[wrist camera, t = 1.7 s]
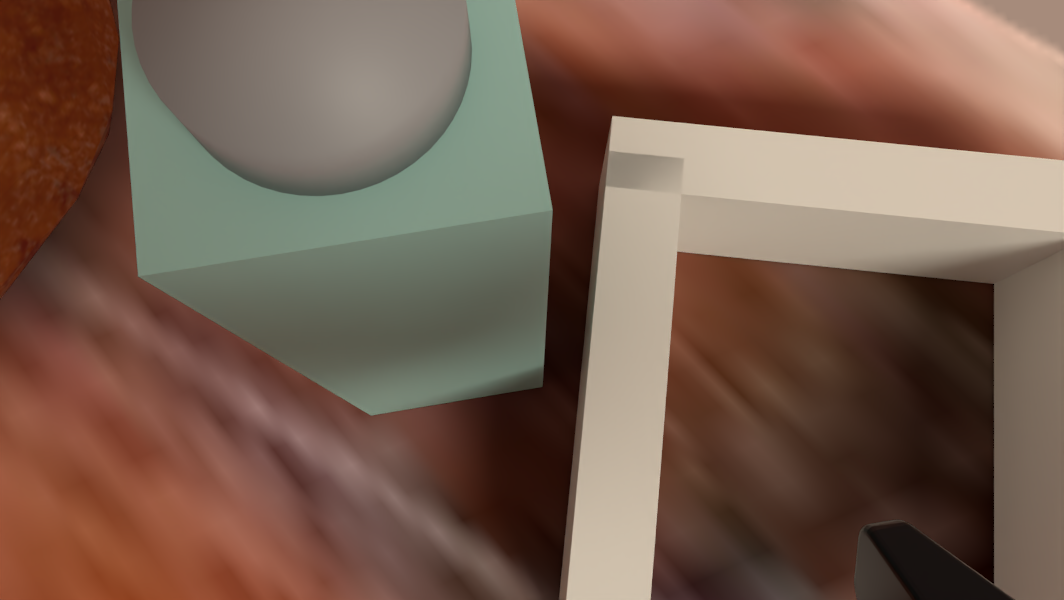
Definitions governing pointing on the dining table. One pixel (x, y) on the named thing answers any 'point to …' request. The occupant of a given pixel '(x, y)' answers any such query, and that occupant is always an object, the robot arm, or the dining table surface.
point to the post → (346, 187)
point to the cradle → (821, 240)
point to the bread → (49, 115)
